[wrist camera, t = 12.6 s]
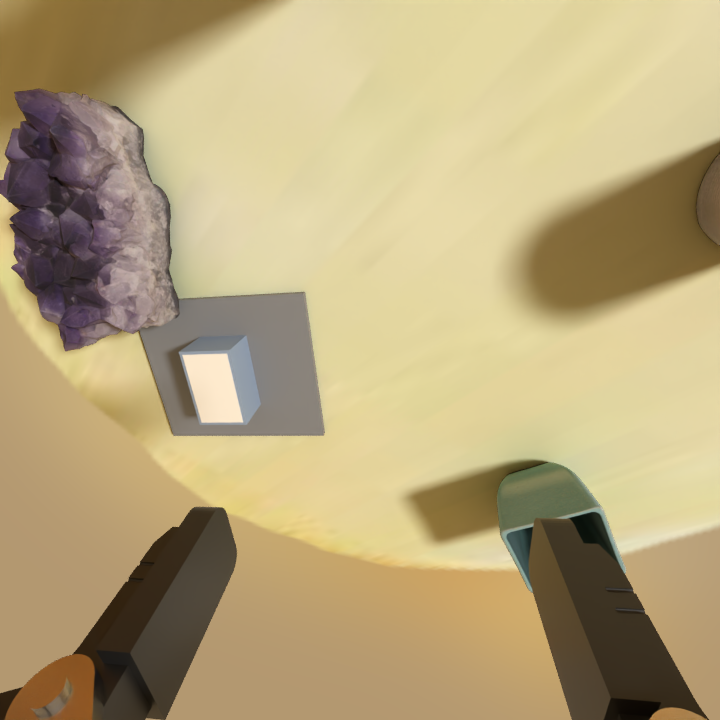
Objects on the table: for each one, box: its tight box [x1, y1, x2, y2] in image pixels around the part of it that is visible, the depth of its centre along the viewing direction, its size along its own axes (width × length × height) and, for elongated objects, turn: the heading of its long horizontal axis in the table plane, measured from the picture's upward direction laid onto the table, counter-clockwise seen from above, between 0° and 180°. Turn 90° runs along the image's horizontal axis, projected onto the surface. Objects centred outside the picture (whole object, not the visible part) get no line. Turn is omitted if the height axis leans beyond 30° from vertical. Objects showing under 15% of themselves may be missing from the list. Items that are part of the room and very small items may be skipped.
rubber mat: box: [139, 292, 325, 436], centre depth 41 cm, size 16×18×1 cm
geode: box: [0, 89, 180, 351], centre depth 32 cm, size 20×12×10 cm, turn 177°
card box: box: [179, 335, 261, 425], centre depth 39 cm, size 5×8×4 cm, turn 4°
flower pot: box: [497, 463, 626, 593], centre depth 39 cm, size 9×9×9 cm
